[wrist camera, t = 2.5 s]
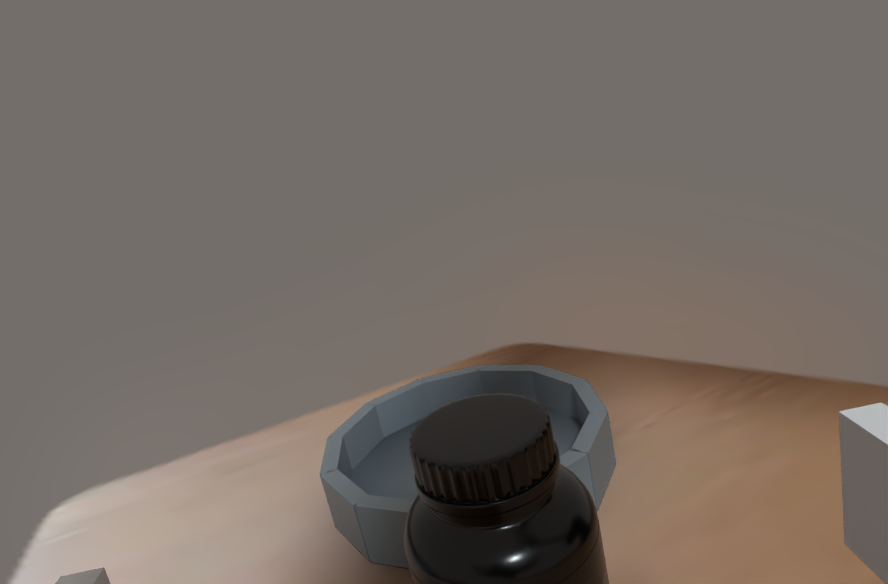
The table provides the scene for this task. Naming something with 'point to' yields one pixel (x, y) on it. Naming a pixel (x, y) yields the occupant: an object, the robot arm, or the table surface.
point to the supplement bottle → (498, 499)
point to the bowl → (396, 413)
